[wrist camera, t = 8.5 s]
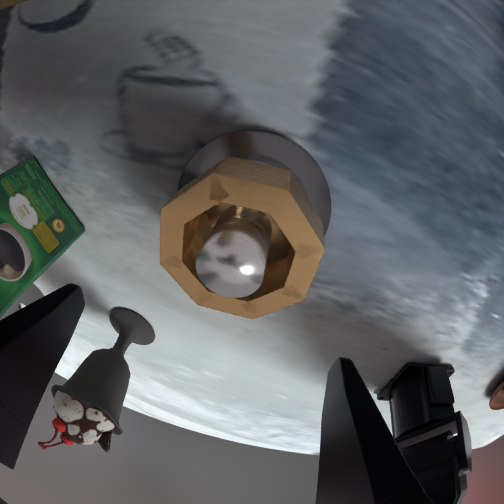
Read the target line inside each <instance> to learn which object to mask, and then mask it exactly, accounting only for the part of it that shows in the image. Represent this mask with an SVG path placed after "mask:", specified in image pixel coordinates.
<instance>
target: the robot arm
mask: <svg viewBox="0 0 504 504" xmlns="http://www.w3.org/2000/svg"><path fill="white" fill-rule="evenodd" d="M84 307H85V301H84V297H83V293H82V289H81V287H80V286H78V285H76V284H73V283H70V284H67V285H65V286H63V287H61V288H59V289H58V290H56V291H54V292H52V293H50V294H48V295H46V296H44V297H42V298H41V299H38V300H37V301H35V302H33V303H31V304H29V305H27V306H25V307H24V308H22V309H20V310H18V311H16V312H15V313H13V314H11V315H9V316H7V317H6V318H4V319H2V320H0V463H2V464H3V465H5V466H7V467H9V468H11V469H14V467H15V464H16V461H17V458H18V455H19V452H20V449H21V447H22V444H23V442H24V439H25V436H26V434H27V431H28V428H29V426H30V424H31V421H32V419H33V416H34V414H35V412H36V409H37V407H38V405H39V403H40V400H41V398H42V396H43V394H44V392H45V389H46V387H47V385H48V383H49V381H50V379H51V377H52V375H53V373H54V371H55V369H56V367H57V365H58V363H59V361H60V359H61V357H62V355H63V354H64V352H65V350H66V348H67V346H68V344H69V342H70V340H71V337H72V335H73V333H74V330H75V328H76V326H77V323H78V321H79V319H80V316H81V314H82V312H83V310H84ZM453 373H454V368H453V367H447V366H436V365H427V364H418V363H408V364H406V365H405V366H404V367H403V368H402V370H401V371H400V372H399V373H398V374H397V375H396V376H395V377H394V378H393V379H392V380H391V381H390V382H389V383H388V384H387V385H386V386H385V387H384V388H383V389H382V390H381V391H380V392H379V393H378V394H377V399H378V400H385V401H389V403H390V412H391V422H392V433H393V436H392V434H391V432H390V430H389V428H388V426H387V424H386V422H385V421H384V419H383V417H382V415H381V413H380V411H379V409H378V407H377V406H376V404H375V402H374V400H373V398H372V396H371V394H370V392H369V391H368V389H367V387H366V385H365V383H364V381H363V380H362V378H361V376H360V374H359V372H358V371H357V369H356V367H355V365H354V363H353V361H352V360H351V359H349V358H343V357H339V358H338V359H337V360H336V362H335V363H334V364H333V366H332V367H331V369H330V370H329V373H328V376H327V384H326V391H325V398H324V404H323V411H322V421H321V442H320V459H319V472H318V484H317V495H316V504H461V503H462V501H463V499H464V497H465V495H466V492H467V477H466V474H468V473H470V472H471V471H472V452H471V437H470V433H469V428H468V424H467V421H466V420H465V418H464V416H463V415H462V413H461V411H458V412H456V413H455V412H454V407H453V403H454V396H453V392H452V388H451V384H450V381H449V377H450V376H451V375H452V374H453ZM455 433H458V435H457V436H453V434H455ZM0 504H7V503H6V502H5V501H4V500H3V499H1V498H0Z"/></svg>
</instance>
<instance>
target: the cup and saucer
mask: <svg viewBox="0 0 504 504" xmlns="http://www.w3.org/2000/svg"><path fill="white" fill-rule="evenodd" d="M489 405H490V408H491V409H493V410H499V409H504V380H503V381H502V383H501V384H500V385H499V386H498V387H497V388H496V390H495V391H494V393H493V395H492V397H491V399H490V402H489Z"/></svg>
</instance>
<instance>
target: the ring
mask: <svg viewBox="0 0 504 504" xmlns="http://www.w3.org/2000/svg"><path fill="white" fill-rule="evenodd" d="M219 202H224V203H228V204H233V205H237V206H241V207H245V208H250V209H254V210H258V211H262V212H266V213H270V214H271V215H272V217H273V218H274V220H275V221H276V223H277V224H278V226H279V227H280V228H281V230H282V231H283V233H284V234H285V236H286V237H287V239H288V240H289V242H290V243H291V247H290V250H289V253H288V256H287V257H285V258H283V259H281V260H278V261H276V262H274V263H272V264H270V265H267V266H265V271H264V276H263V281H262V283H261V285H260V287H259V288H258V289H257V290H256V291H255V292H253V293H252V294H250V295H248V296H245V297H240V298H231V297H225V296H221V295H219V294H216V293H215V292H213V291H211V290H210V289H208V288H207V287H206V286H205V285H204V284H203V283H202V281H201V280H200V278H199V276H198V274H197V271H196V260H197V257H198V255H199V253H200V251H201V249H202V247H203V246H204V244H205V242H204V241H203V240H202V239H201V237H200V236H199V235H198V230H199V220H200V214H201V213H203V212H204V211H206V210H208V209H209V208H211V207H213V206H214V205H216V204H217V203H219ZM324 250H325V245H324V235H323V226H322V220H321V219H320V217H319V215H318V213H317V212H316V210H315V208H314V207H313V205H312V204H311V202H310V200H309V199H308V197H307V195H306V194H305V192H304V190H303V189H302V187H301V186H300V184H299V182H298V181H297V179H296V178H295V176H294V175H293V173H292V171H291V170H287V169H283V168H278V167H274V166H270V165H266V164H261V163H257V162H253V161H248V160H243V159H239V158H234V157H229V156H228V157H226V158H224V159H223V160H221V161H220V162H218V163H217V164H215V165H214V166H212V167H211V168H209V169H208V170H207V171H205V172H204V173H202V174H201V175H199V176H198V177H196V178H195V179H193V180H192V181H191V182H189V183H188V184H186V185H185V186H184V187H182V188H181V189H180V190H179V191H178V192H177V193H176V194H175V195H174V196H173V197H172V198H171V199H170V200H169V201H168V202H167V204H166V205H165V206H164V207H163V208H162V209H161V221H160V264H161V265H162V266H163V267H164V268H165V270H166V271H167V272H168V273H169V274H170V275H171V276H172V277H173V279H174V280H175V281H176V282H177V283H178V284H179V285H180V286H181V287H182V288H183V290H184V291H185V292H186V293H187V294H188V295H189V296H190V297H191V298H192V299H193V300H194V301H195V303H196V304H197V305H200V306H204V307H207V308H211V309H215V310H219V311H223V312H226V313H230V314H234V315H238V316H242V317H246V318H250V319H255V318H258V317H261V316H263V315H266V314H269V313H272V312H274V311H277V310H280V309H282V308H285V307H288V306H290V305H293V304H295V303H298V302H301V301H303V300H305V298H306V295H307V293H308V290H309V288H310V285H311V283H312V281H313V278H314V276H315V273H316V271H317V268H318V265H319V263H320V260H321V258H322V255H323V253H324Z"/></svg>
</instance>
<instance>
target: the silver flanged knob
mask: <svg viewBox="0 0 504 504" xmlns="http://www.w3.org/2000/svg"><path fill="white" fill-rule="evenodd" d="M228 156H229V157H234V158H239V159H243V160H248V161H253V162H257V163H261V164H266V165H270V166H274V167H278V168H283V169H287V170H291V171H292V173H293V175H294V176H295V178H296V179H297V181H298V182H299V184H300V186H301V187H302V189H303V190H304V192H305V194H306V195H307V197H308V199H309V200H310V202H311V204H312V205H313V207H314V208H315V210H316V212H317V213H318V215H319V217H320V219H321V220H322V226H323V235H324V236H325V233H326V231H327V229H328V225H329V222H330V216H331V198H330V192H329V188H328V184H327V181H326V178H325V176H324V174H323V172H322V170H321V168H320V167H319V165H318V164H317V162H316V161H315V160H314V159H313V158H312V156H311V155H310V154H309V153H308V152H307V151H306V150H304V149H303V148H302V147H301V146H300V145H298V144H296V143H295V142H293V141H292V140H290V139H288V138H286V137H283V136H281V135H278V134H275V133H272V132H267V131H261V130H242V131H235V132H231V133H227V134H225V135H222V136H220V137H218V138H216V139H214V140H212V141H211V142H209V143H208V144H206V145H205V146H204V147H202V148H201V149H200V150H199V151H198V152H197V153H196V154H195V155H194V156H193V157H192V158H191V159H190V161H189V162H188V164H187V165H186V167H185V169H184V171H183V173H182V176H181V179H180V182H179V187H178V191H179V190H180V189H181V188H182V187H184V186H185V185H186V184H188V183H189V182H191V181H192V180H193V179H195V178H196V177H198V176H199V175H201V174H202V173H204V172H205V171H207V170H208V169H209V168H211V167H212V166H214V165H215V164H217V163H218V162H220V161H221V160H223V159H224V158H226V157H228ZM198 235H199V236H200V237H201V239H202V240H203V241H204V242H205V244H204V246H203V247H202V249H201V251H200V253H199V255H198V257H197V260H196V271H197V274H198V276H199V278H200V280H201V281H202V283H203V284H204V285H205V286H206V287H207V288H208V289H210V290H211V291H213V292H215V293H216V294H219V295H221V296H225V297H231V298H240V297H245V296H248V295H250V294H252V293H253V292H255V291H256V290H257V289H258V288H259V287H260V285H261V283H262V281H263V276H264V271H265V266H267V265H270V264H272V263H274V262H276V261H278V260H281V259H283V258H285V257H287V256H288V253H289V250H290V247H291V243H290V242H289V240H288V239H287V237H286V236H285V234H284V233H283V231H282V230H281V228H280V227H279V226H278V224H277V223H276V221H275V220H274V218H273V217H272V215H271V214H270V213H266V212H262V211H258V210H254V209H250V208H245V207H241V206H237V205H233V204H228V203H224V202H219V203H217V204H216V205H214V206H213V207H211V208H209V209H208V210H206V211H204V212H203V213H201V214H200V220H199V230H198Z"/></svg>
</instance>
